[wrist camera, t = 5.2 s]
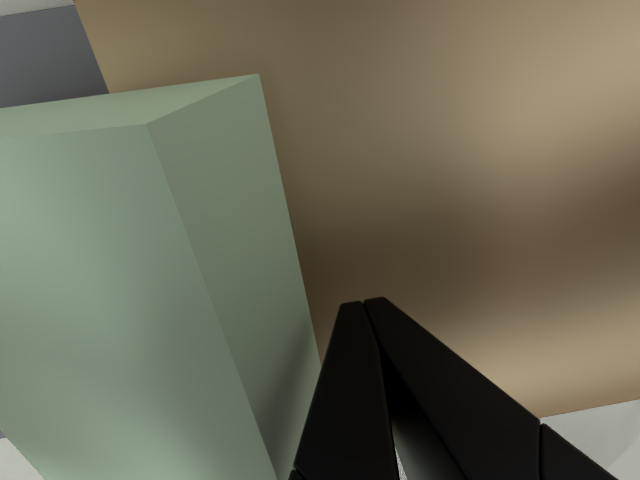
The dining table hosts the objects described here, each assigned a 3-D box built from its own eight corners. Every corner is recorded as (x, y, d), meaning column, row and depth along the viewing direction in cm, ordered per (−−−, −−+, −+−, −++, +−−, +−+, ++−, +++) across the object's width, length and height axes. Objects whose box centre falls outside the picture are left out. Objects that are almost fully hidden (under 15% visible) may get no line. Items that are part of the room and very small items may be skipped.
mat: (278, 380, 15) (278, 387, 15) (-30, 437, 15) (-35, 445, 15) (169, -9, 9) (166, -9, 8) (-381, 77, 8) (-402, 79, 8)
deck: (592, 304, 15) (688, 389, 12) (260, 365, 15) (257, 471, 11) (702, -92, 9) (968, -163, 6) (146, -5, 9) (64, -23, 5)
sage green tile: (340, 456, 10) (314, 579, 8) (143, 423, 11) (78, 516, 9) (258, 73, 5) (145, 123, 3) (-44, 114, 7) (-244, 164, 5)
